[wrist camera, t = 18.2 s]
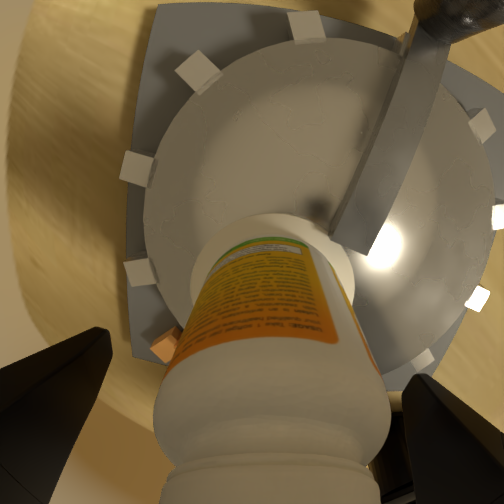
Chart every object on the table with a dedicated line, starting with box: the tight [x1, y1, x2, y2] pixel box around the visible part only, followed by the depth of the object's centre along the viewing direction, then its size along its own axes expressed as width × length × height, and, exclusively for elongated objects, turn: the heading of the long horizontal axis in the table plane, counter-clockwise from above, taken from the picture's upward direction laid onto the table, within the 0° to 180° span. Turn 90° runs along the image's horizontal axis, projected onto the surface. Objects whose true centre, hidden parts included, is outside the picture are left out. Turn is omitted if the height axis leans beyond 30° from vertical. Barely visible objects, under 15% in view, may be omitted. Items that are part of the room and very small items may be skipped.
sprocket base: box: [126, 2, 504, 391], centre depth 13 cm, size 19×19×2 cm
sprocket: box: [119, 0, 504, 375], centre depth 9 cm, size 18×20×6 cm
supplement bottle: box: [153, 234, 391, 504], centre depth 7 cm, size 5×5×10 cm
